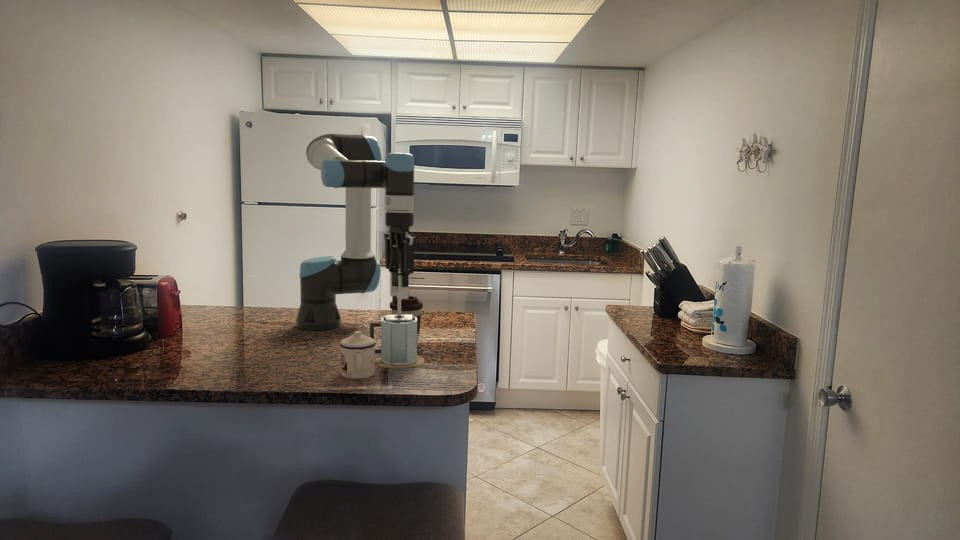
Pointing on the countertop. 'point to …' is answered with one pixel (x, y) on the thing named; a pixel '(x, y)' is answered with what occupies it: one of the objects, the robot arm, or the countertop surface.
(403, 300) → the coffee cup
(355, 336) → the teacup with lid
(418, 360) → the cork trivet
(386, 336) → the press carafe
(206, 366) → the countertop surface
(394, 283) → the plunger
